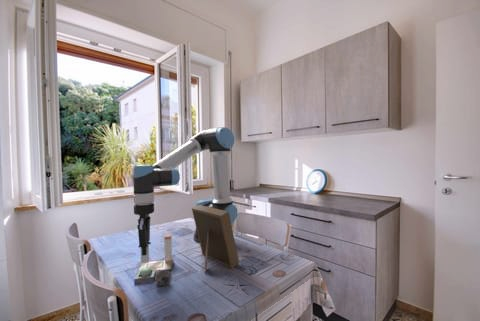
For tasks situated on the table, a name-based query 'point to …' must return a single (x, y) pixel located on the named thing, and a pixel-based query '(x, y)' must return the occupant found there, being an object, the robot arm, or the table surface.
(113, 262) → the table surface
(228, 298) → the table surface
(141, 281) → the button housing
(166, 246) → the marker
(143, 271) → the button
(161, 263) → the cream rectangular board
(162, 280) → the stone
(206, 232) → the photo frame
